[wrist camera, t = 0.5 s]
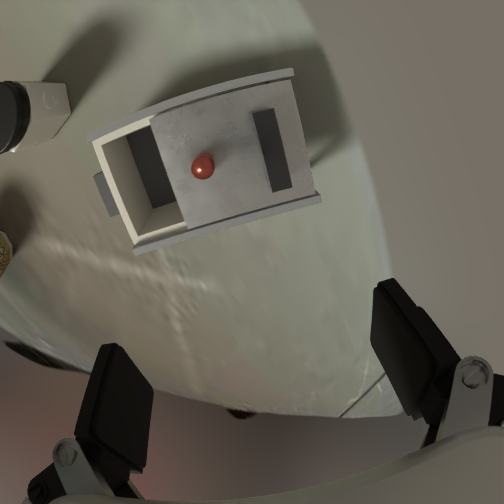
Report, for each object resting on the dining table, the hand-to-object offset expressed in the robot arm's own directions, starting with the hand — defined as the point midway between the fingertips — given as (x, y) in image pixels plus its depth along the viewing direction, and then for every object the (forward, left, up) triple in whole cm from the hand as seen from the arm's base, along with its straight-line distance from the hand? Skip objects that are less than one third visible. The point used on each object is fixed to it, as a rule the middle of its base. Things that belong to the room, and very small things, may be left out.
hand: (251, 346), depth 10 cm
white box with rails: (-3, -3, -29) cm, 30 cm away
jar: (-17, -21, -30) cm, 40 cm away
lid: (-3, +1, -20) cm, 21 cm away
